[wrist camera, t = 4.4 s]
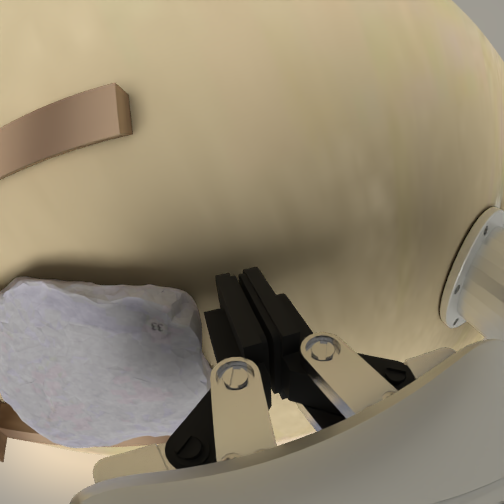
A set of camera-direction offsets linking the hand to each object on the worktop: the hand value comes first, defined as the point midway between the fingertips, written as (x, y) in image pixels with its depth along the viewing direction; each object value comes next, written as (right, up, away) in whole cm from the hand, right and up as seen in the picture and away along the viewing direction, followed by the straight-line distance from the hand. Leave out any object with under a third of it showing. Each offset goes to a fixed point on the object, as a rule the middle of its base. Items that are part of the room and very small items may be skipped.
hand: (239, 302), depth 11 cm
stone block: (-7, -3, +1) cm, 8 cm away
